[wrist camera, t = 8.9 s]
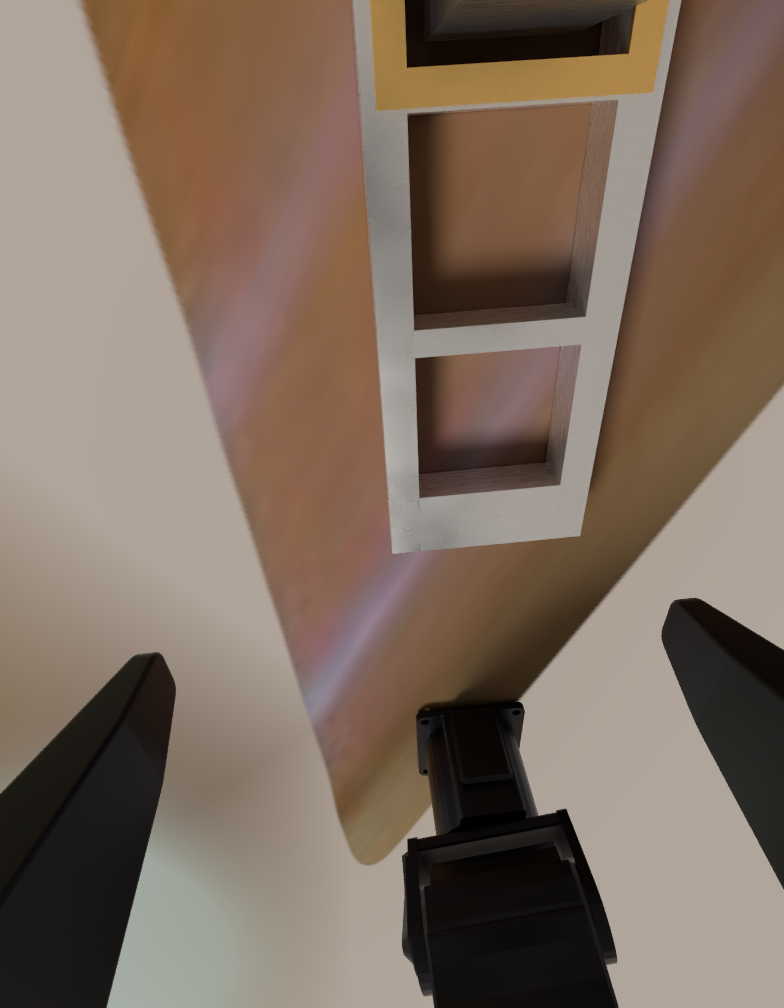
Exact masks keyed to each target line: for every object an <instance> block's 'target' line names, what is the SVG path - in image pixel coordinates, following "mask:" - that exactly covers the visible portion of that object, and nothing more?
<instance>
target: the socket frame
mask: <svg viewBox="0 0 784 1008" xmlns="http://www.w3.org/2000/svg"><path fill="white" fill-rule="evenodd" d="M350 2H351V15H352V29H353V42H354V56H355V69H356V83H357V97H358V110H359V124H360V137H361V151H362V164H363V178H364V192H365V205H366V219H367V232H368V246H369V259H370V273H371V287H372V300H373V314H374V327H375V341H376V354H377V368H378V382H379V395H380V409H381V422H382V436H383V449H384V463H385V477H386V490H387V504H388V517H389V530H390V538H391V545H392V553H393V554H397V553H407V552H418V551H428V550H439V549H449V548H460V547H470V546H481V545H491V544H502V543H512V542H522V541H533V540H543V539H554V538H564V537H575V536H580V533H581V528H582V523H583V517H584V512H585V507H586V501H587V496H588V491H589V486H590V480H591V475H592V470H593V464H594V459H595V454H596V449H597V443H598V438H599V433H600V428H601V422H602V417H603V412H604V406H605V401H606V396H607V391H608V385H609V380H610V375H611V369H612V364H613V359H614V354H615V348H616V343H617V338H618V332H619V327H620V322H621V317H622V311H623V306H624V301H625V296H626V290H627V285H628V280H629V274H630V269H631V264H632V259H633V253H634V248H635V243H636V237H637V232H638V227H639V222H640V216H641V211H642V206H643V200H644V195H645V190H646V185H647V179H648V174H649V169H650V164H651V158H652V153H653V148H654V142H655V137H656V132H657V127H658V121H659V116H660V111H661V105H662V100H663V95H664V90H665V84H666V79H667V74H668V68H669V63H670V58H671V53H672V47H673V42H674V37H675V32H676V26H677V21H678V16H679V10H680V5H681V0H648V1H646V2H644V3H641V4H639V5H637V6H635V7H633V8H630V9H628V10H626V11H624V12H622V13H619V14H617V15H615V16H613V17H611V18H608V19H606V20H604V21H602V28H601V36H600V44H599V52H598V56H586V57H570V58H554V59H538V60H523V61H507V62H491V63H475V64H459V65H443V66H428V67H412V68H407V60H406V27H405V0H350ZM577 104H592V106H591V114H590V122H589V129H588V137H587V145H586V153H585V160H584V168H583V176H582V184H581V191H580V199H579V207H578V215H577V222H576V230H575V238H574V246H573V254H572V261H571V269H570V277H569V285H568V292H567V300H566V303H558V304H546V305H533V306H521V307H508V308H496V309H483V310H470V311H458V312H445V313H433V314H420V315H414V312H413V280H412V248H411V216H410V184H409V152H408V120H407V116H411V115H426V114H442V113H457V112H472V111H487V110H502V109H517V108H532V107H547V106H562V105H577ZM556 346H561V347H560V355H559V362H558V370H557V378H556V386H555V393H554V401H553V409H552V417H551V424H550V432H549V440H548V448H547V455H546V462H544V463H533V464H522V465H511V466H500V467H489V468H478V469H467V470H456V471H444V472H433V473H422V474H419V471H418V439H417V408H416V376H415V358H423V357H435V356H448V355H460V354H472V353H484V352H496V351H508V350H520V349H532V348H544V347H556Z"/></svg>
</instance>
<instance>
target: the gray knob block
mask: <svg viewBox="0 0 784 1008" xmlns="http://www.w3.org/2000/svg"><path fill="white" fill-rule="evenodd" d="M646 1H648V0H424V19H425V42H436V41H452V40H469V39H485V38H502V37H518V36H535V35H551V34H568V33H578V32H580V31H582V30H584V29H586V28H589V27H591V26H593V25H595V24H597V23H600V22H602V21H604V20H606V19H608V18H611V17H613V16H615V15H617V14H619V13H622V12H624V11H626V10H628V9H630V8H633V7H635V6H637V5H639V4H641V3H644V2H646Z"/></svg>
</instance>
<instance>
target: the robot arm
mask: <svg viewBox="0 0 784 1008" xmlns="http://www.w3.org/2000/svg"><path fill="white" fill-rule="evenodd" d="M661 636H662V642H663V645H664V648H665V650H666V652H667V655H668V658H669V660H670V662H671V665H672V667H673V670H674V672H675V675H676V677H677V680H678V682H679V685H680V687H681V690H682V692H683V694H684V697H685V699H686V702H687V704H688V707H689V709H690V711H691V714H692V716H693V718H694V720H695V723H696V725H697V727H698V729H699V731H700V733H701V735H702V737H703V739H704V741H705V743H706V744H707V746H708V748H709V750H710V752H711V754H712V756H713V758H714V759H715V761H716V763H717V765H718V767H719V769H720V771H721V773H722V774H723V776H724V778H725V780H726V782H727V784H728V786H729V788H730V789H731V791H732V793H733V795H734V797H735V799H736V801H737V802H738V805H739V806H740V808H741V810H742V812H743V814H744V816H745V818H746V819H747V821H748V823H749V825H750V827H751V828H752V831H753V832H754V835H755V836H756V838H757V840H758V842H759V844H760V846H761V848H762V850H763V851H764V853H765V855H766V857H767V859H768V861H769V863H770V865H771V866H772V868H773V870H774V872H775V874H776V876H777V878H778V879H779V881H780V883H781V885H782V887H783V889H784V650H783V649H781V648H779V647H778V646H776V645H775V644H773V643H771V642H770V641H768V640H766V639H765V638H763V637H761V636H760V635H758V634H757V633H755V632H753V631H752V630H750V629H748V628H747V627H745V626H743V625H742V624H740V623H738V622H737V621H735V620H734V619H732V618H730V617H729V616H727V615H725V614H724V613H722V612H720V611H719V610H717V609H715V608H714V607H712V606H711V605H709V604H707V603H706V602H704V601H702V600H700V599H697V598H689V599H679V600H675V601H674V602H673V603H672V604H671V605H670V608H669V611H668V615H667V617H666V620H665V623H664V625H663V628H662V635H661ZM175 696H176V686H175V682H174V679H173V677H172V675H171V672H170V670H169V668H168V666H167V664H166V662H165V660H164V658H163V656H162V655H161V654H160V653H158V652H153V653H143V654H137V655H135V656H133V657H132V658H131V659H130V660H129V661H128V662H127V663H126V664H125V665H124V666H123V667H122V668H121V669H120V670H119V671H118V672H117V673H116V674H115V675H114V676H113V677H112V678H111V679H110V680H109V682H107V683H106V685H105V686H104V687H103V688H102V689H101V690H100V691H99V692H98V693H97V694H96V695H95V696H94V697H93V698H92V699H91V700H90V701H89V702H88V703H87V705H85V706H84V708H82V709H81V710H80V712H79V713H78V714H77V715H76V716H75V717H74V718H73V719H72V720H71V721H70V722H69V723H68V724H67V725H66V726H65V727H64V728H63V729H62V730H61V731H60V732H59V733H58V734H57V735H56V737H55V738H53V740H52V741H51V742H50V743H49V744H48V745H47V746H46V747H45V748H44V749H43V750H42V751H41V752H40V753H39V754H38V755H37V756H36V757H35V758H34V759H33V760H32V761H31V762H30V763H29V764H28V765H27V766H26V768H25V769H24V770H23V771H22V772H21V773H20V774H19V775H18V776H17V777H16V778H15V779H14V780H13V781H12V782H11V783H10V784H9V785H8V786H7V787H6V788H5V789H4V790H3V792H2V793H0V1008H106V1007H107V1004H108V999H109V996H110V992H111V988H112V984H113V980H114V976H115V972H116V968H117V964H118V960H119V956H120V952H121V948H122V944H123V940H124V936H125V932H126V928H127V924H128V920H129V917H130V912H131V909H132V905H133V901H134V896H135V893H136V889H137V885H138V881H139V877H140V873H141V869H142V865H143V861H144V857H145V853H146V849H147V845H148V841H149V837H150V834H151V829H152V826H153V822H154V817H155V814H156V809H157V806H158V802H159V797H160V793H161V789H162V785H163V779H164V773H165V767H166V760H167V753H168V746H169V738H170V732H171V724H172V717H173V710H174V703H175ZM524 713H525V711H524V707H523V705H522V703H520V702H508V703H499V704H490V705H480V706H471V707H461V708H452V709H443V710H433V711H424V712H420V713H418V714H417V715H416V730H417V750H418V768H419V773H420V774H421V775H428V778H429V786H430V793H431V800H432V807H433V814H434V821H435V829H436V836H431V837H426V838H421V839H418V838H417V837H416V838H411V839H408V852H407V853H405V854H404V855H403V856H402V861H403V873H404V887H405V900H404V915H403V932H402V948H403V953H404V956H405V957H406V958H407V959H408V960H409V961H410V962H412V964H413V965H414V969H415V972H416V975H417V977H418V980H419V985H420V988H421V991H422V993H423V995H424V996H431V995H433V1001H434V1008H618V1003H617V1000H616V997H615V993H614V990H613V987H612V984H611V980H610V977H609V973H608V970H607V967H606V965H609V964H615V963H617V955H616V949H615V945H614V941H613V937H612V933H611V929H610V926H609V922H608V919H607V916H606V912H605V909H604V906H603V903H602V900H601V897H600V894H599V892H598V889H597V886H596V883H595V881H594V878H593V876H592V873H591V871H590V868H589V866H588V863H587V860H586V858H585V855H584V853H583V850H582V848H581V845H580V843H579V840H578V838H577V835H576V832H575V830H574V827H573V825H572V822H571V820H570V817H569V815H568V812H567V810H566V809H561V810H557V811H556V813H551V814H546V815H541V816H538V812H537V809H536V806H535V803H534V799H533V795H532V792H531V789H530V785H529V782H528V778H527V775H526V772H525V768H524V765H523V762H522V758H521V755H520V751H519V747H520V740H521V733H522V726H523V720H524ZM561 860H562V861H561Z"/></svg>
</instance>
